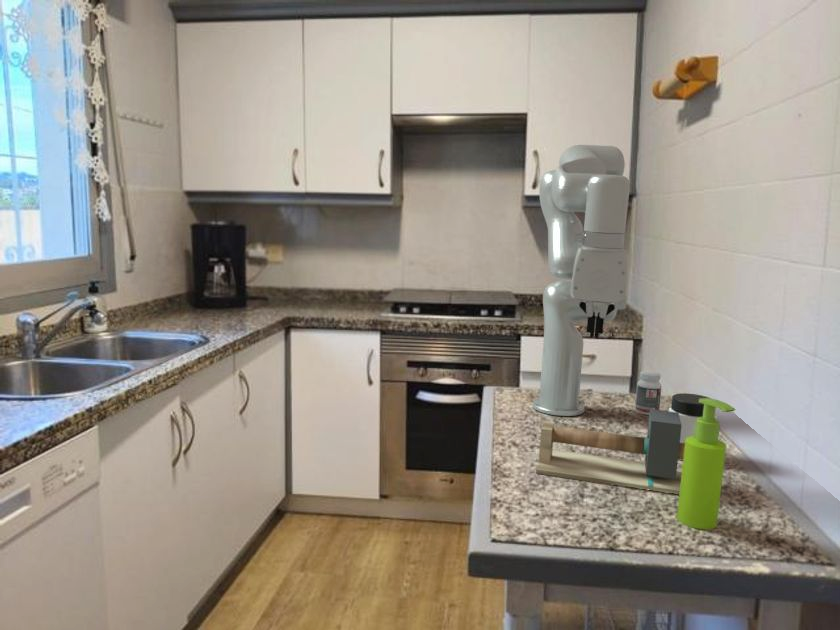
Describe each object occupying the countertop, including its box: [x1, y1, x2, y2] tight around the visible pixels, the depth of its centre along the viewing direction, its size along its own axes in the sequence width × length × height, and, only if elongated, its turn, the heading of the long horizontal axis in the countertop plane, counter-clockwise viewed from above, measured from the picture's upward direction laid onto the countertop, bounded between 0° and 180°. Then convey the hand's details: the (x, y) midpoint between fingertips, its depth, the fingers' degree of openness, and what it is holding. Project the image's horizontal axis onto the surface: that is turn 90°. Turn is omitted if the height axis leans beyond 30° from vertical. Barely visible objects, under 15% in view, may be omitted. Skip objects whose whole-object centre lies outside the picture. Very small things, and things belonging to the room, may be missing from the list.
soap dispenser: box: [676, 397, 736, 530], centre depth 104 cm, size 6×7×20 cm
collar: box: [644, 409, 682, 479], centre depth 121 cm, size 8×5×10 cm, turn 163°
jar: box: [668, 392, 717, 462], centre depth 135 cm, size 9×8×12 cm
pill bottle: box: [634, 370, 662, 416], centre depth 164 cm, size 6×6×10 cm
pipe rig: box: [535, 420, 685, 495], centre depth 123 cm, size 12×30×8 cm, turn 73°
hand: (594, 336), depth 129 cm, fingers closed
